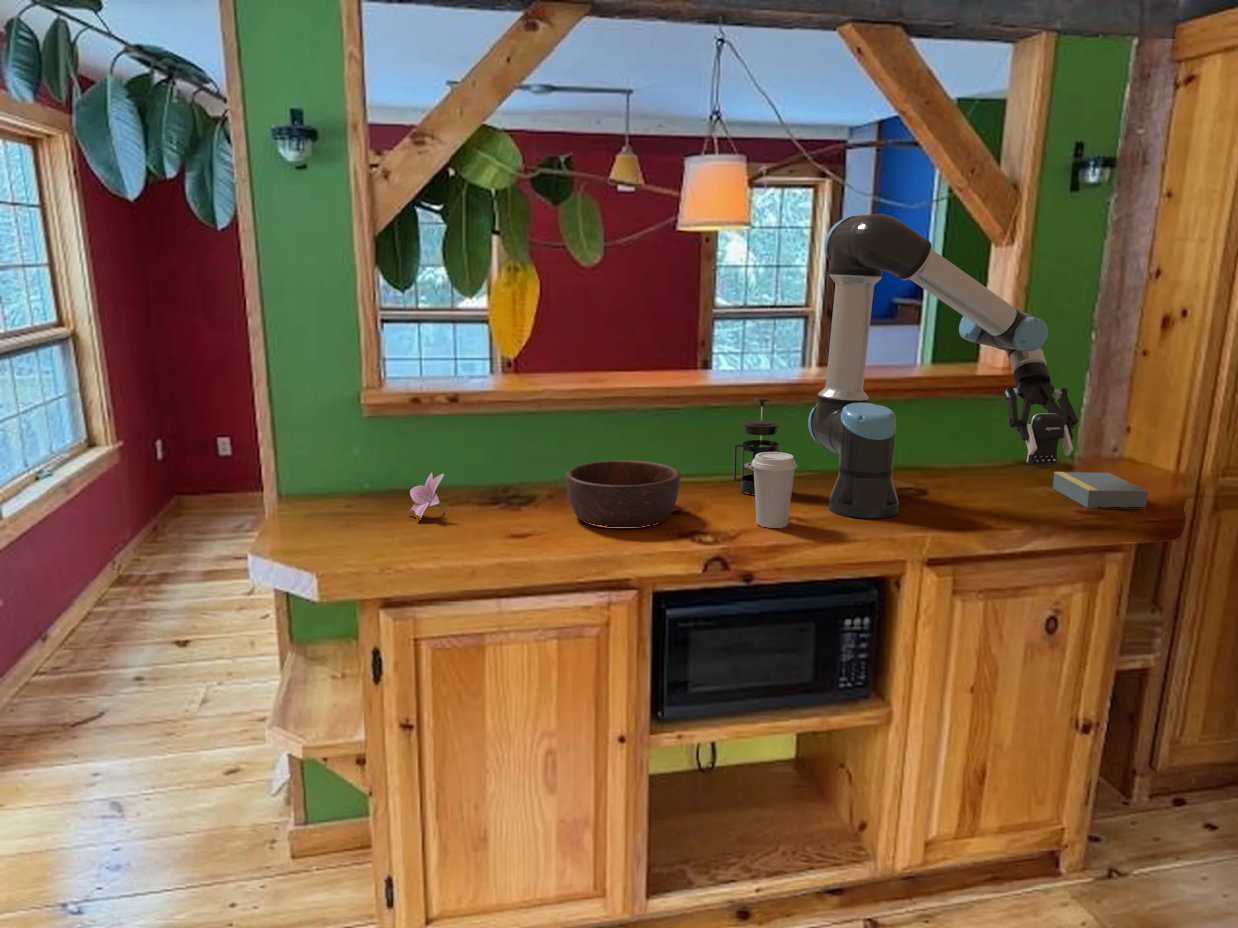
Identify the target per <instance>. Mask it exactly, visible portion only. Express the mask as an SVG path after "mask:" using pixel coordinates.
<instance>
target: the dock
mask: <svg viewBox="0 0 1238 928" xmlns="http://www.w3.org/2000/svg"><path fill="white" fill-rule="evenodd" d="M1053 473H1054V474H1053V482H1052V483H1053V484H1052V489H1053V490H1055V491H1057V492H1059V493H1060V494H1063V495H1064V496H1066V497H1067V498H1070V499H1071V500H1073V501H1074V502H1076V503H1078V504H1080V505H1081V506H1083V507H1085V508H1087V509H1099V508H1098V507H1102V508H1101V509H1109V508H1108V507H1146V508H1147V500H1148V495H1149V491H1148V490H1146V489H1144V488H1142V487H1141V486H1138V485H1136V484H1134V483H1132V482H1129V481H1127V480H1125V479H1123V478H1121V477H1118V476H1117V475H1115V474H1112V473H1110V472H1077V471H1076V472H1075V471H1074V472H1073V471H1071V472H1067V471H1066V472H1065V471H1054V472H1053ZM1103 507H1104V508H1103ZM1105 507H1106V508H1105Z"/></svg>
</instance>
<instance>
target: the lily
mask: <svg viewBox="0 0 1238 928" xmlns="http://www.w3.org/2000/svg"><path fill="white" fill-rule="evenodd" d="M444 476H445V473H441V474H439V475H437V476H436V477H434V478H433V472H431V473H430V474H429V475H428V477H427V478H426V481H425V484H424V485H417V486H414V487H412V488H411V489H410V490H409V493H410V497H411V499H412V501H413V502H414V504H413V506H412V507H411V509H410V511H411V510H413V511H415V515H418V516H420V518H421V519H422V517H423V514H424V512H425V510H426V509H427V507H430V506H431V507H432V506H435V505H437V506H438V507H439V509H440V510H441V509H443V508H442V506H441V505H440V504H439V503H440V500H439V497H438V494H437V493H436V490H437V488H438V486H439V484H440V483H441V481H442V479H443V478H444Z"/></svg>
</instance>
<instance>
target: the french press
mask: <svg viewBox="0 0 1238 928" xmlns="http://www.w3.org/2000/svg"><path fill="white" fill-rule="evenodd" d="M753 401H755V402H759V407H761V408H760V419H758V420H757V419H756V420H755V419H754V420H748V421H747V420H746V421H743V422H742V426H743V427H744V431H743V432H744V433H745V434H747V435H750V436H751V435H753V436H759V439H749V440H745V441H742V443H734V444H733V467H732V469H733V472H732V474H733V475H732V480H734V481H735V482H740V489H741V491H743V492H748V493H750V494H755V484H754V469H753V467H752V466H751V464H752V461H751V462H747V463H745V452H750V453H752V460H753V459H755V455H756V454H758V453H763V452H780V449H781V447H780V442H778V441H774V440H769V439H768V440H767V439H763V437H762V436H773V435H775V434H777V432H778V429H779V428H780V427H781V423H780V422H777V421H774V420H773V421H772V420H763V413H764V412H763V411H764V410H763V409H764V407H765V402H770V401H772V399H771V398H768V397H755V398H753ZM739 447H741V464H740V465H741V470H740V471H741V473H740V477H736V476H737V448H739ZM744 470H745V471H748V472H752V473H749V474H744V473H745V472H744ZM740 489H739V490H740Z"/></svg>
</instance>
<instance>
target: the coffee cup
mask: <svg viewBox="0 0 1238 928" xmlns="http://www.w3.org/2000/svg"><path fill="white" fill-rule="evenodd" d="M751 462H752V464H751V466H752V467H753V469H754V484H755V496H754V497H755V498H754V499H755V500H754V501H755V502H754V503H755V516H756V524H757V523H758V524H759V525H762V526H764V527H770V528H780V529H782V528H781V527H785V528H787V527H786V526H788V524H789V516H790V508H791V500H792V493H793V492H792V491H793V484H794V476H795V471H796V470H795V469H797V467H798V464H797V461H796V460H795V456H794V455H792V454H790V453H786V452H780V451H779V452H777V451H775V452H763V453H758V454H756V455H755V459H753V458H752V461H751Z"/></svg>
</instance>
